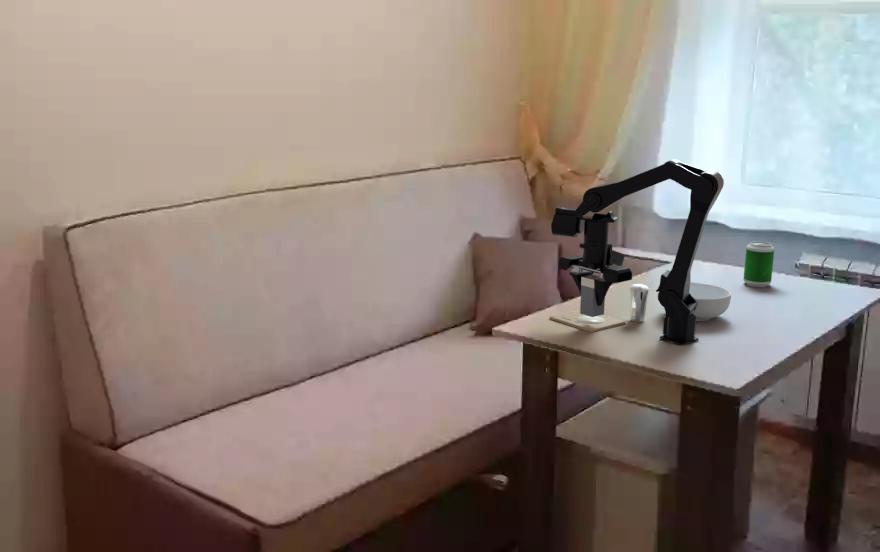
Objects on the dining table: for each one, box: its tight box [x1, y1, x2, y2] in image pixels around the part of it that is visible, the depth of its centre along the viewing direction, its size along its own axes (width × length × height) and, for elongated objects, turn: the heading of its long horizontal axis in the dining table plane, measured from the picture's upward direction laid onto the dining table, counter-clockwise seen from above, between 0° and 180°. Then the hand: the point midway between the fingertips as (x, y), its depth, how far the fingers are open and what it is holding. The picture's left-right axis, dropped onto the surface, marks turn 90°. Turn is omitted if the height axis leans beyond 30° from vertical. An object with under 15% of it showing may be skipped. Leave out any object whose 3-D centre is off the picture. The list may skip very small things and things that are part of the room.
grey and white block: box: [579, 274, 606, 317], centre depth 228 cm, size 4×4×9 cm
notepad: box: [549, 309, 626, 333], centre depth 235 cm, size 14×12×1 cm
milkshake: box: [629, 282, 653, 323], centre depth 235 cm, size 4×5×10 cm
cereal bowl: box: [689, 281, 732, 322], centre depth 240 cm, size 17×17×7 cm
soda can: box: [742, 241, 775, 288], centre depth 272 cm, size 8×8×12 cm
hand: (592, 303), depth 229 cm, fingers closed on grey and white block, 4 cm apart
